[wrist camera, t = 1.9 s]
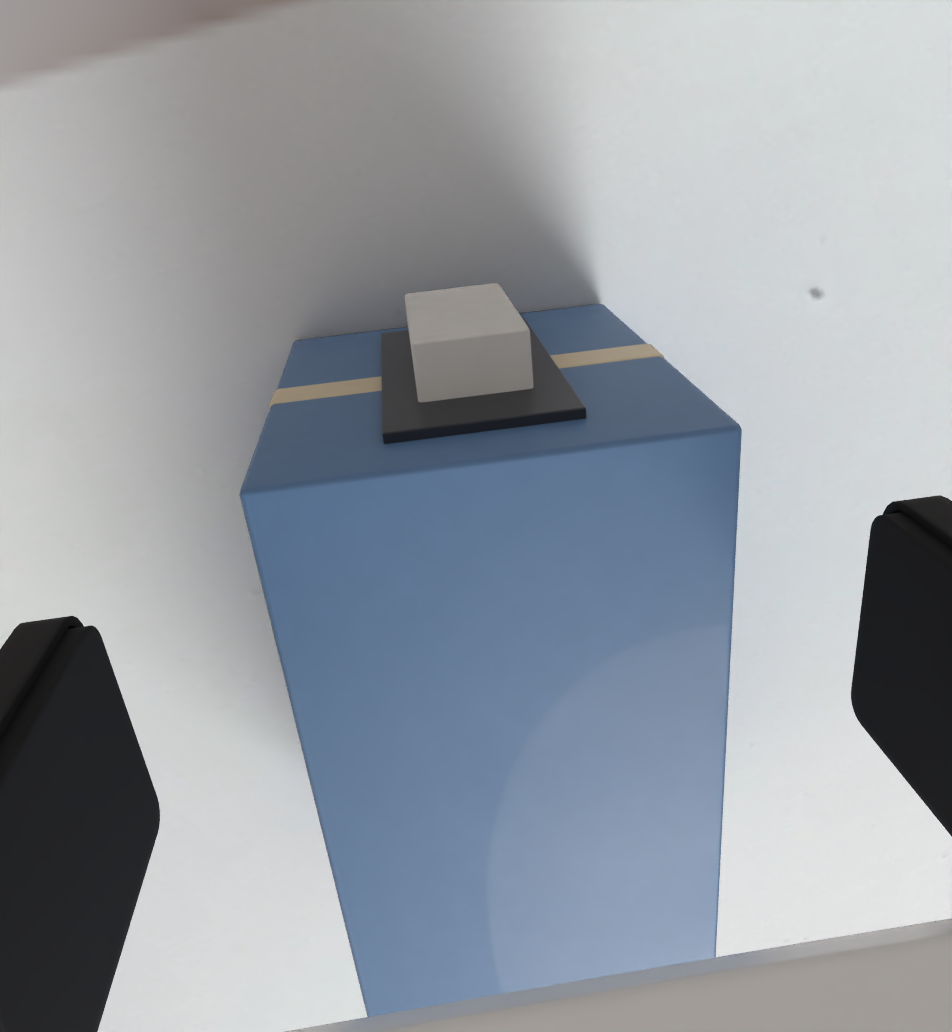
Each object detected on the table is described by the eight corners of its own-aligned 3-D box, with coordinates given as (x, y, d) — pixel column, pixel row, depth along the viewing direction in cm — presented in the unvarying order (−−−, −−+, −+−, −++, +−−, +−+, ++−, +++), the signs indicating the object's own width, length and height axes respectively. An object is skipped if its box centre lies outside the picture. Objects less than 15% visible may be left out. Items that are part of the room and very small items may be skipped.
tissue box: (281, 286, 15) (214, 409, 9) (603, 249, 16) (750, 343, 10) (388, 834, 22) (393, 1128, 15) (617, 799, 22) (712, 1075, 16)
